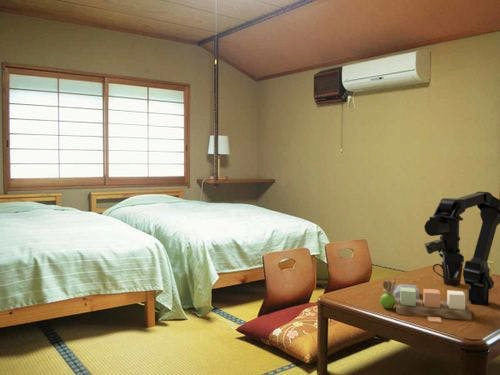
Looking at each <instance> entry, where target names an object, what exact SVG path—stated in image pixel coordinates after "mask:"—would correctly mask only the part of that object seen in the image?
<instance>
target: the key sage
mask: <svg viewBox="0 0 500 375" xmlns="http://www.w3.org/2000/svg"><path fill="white" fill-rule="evenodd" d="M400 303H401V305H410V306H416V291H415V288H404V287H400Z"/></svg>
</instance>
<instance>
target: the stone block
mask: <svg viewBox="0 0 500 375" xmlns="http://www.w3.org/2000/svg"><path fill="white" fill-rule="evenodd" d="M400 287H404V288H415V291H416V299H417V300H420V290H419V288H418V286H417V285H416V284H415V285H413V284H408V283H404V284H402V283H401V284H395V289H394V292H393V293H392V295H393V296H394V297H395V298H400Z"/></svg>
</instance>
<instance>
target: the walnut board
mask: <svg viewBox="0 0 500 375" xmlns="http://www.w3.org/2000/svg"><path fill="white" fill-rule="evenodd" d="M395 300H396V303H395V305H394V307H395V311H396V312H395V313H396V314H397V315H406V316H407V315H408V316H417V317H419V316H420V317H438V318H441V319H455V320H456V319H457V320H469V321H472V319H473V318H472V317H473V315H472V313H473V312H472V311H471V309H470V308H469V307H468V305H467V304H466V302H465V310H462V309H449V307H448V305H447V301H442V300H440V308H436V307H425V306H424V303H423V299H419V300H417V299H416V306H410V305H401V303H400V298H395Z"/></svg>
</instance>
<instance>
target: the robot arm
mask: <svg viewBox="0 0 500 375" xmlns="http://www.w3.org/2000/svg"><path fill="white" fill-rule="evenodd" d="M475 206H476V207H477V208H478V209H479V210H480V212H479V216H480V219H481V227H480V231H479V235H478V238H477V242H476V244H475V249H474V252H473V255H472V258H471V259H470V260H465V256H464V255H463V254H462V253H461V249H460V242H461V237H460V222H461V221H464V218H463V217H462V216H461V215H462V214H463V213H465V212H466V210H467V209H469V208H470V209H471V208H473V207H475ZM499 225H500V199H499V198H497V197H495V196H494V195H493V194H492V193H491V192H489V191H476V192H475V193H471V194H467V195H464V196H461V197H457V198H456V197H444V198H442V199H440V201H439V202H438V205H437V207H436V208H435V211H434V213H433V214H432V215H430V216H429V219H428V220H426V222H425V224H424V231H425V233H426V234H427V235H428V236H429V237H436V236H439V239H436V240H432V241H429V242H428V241H427V242H425V243H424V247H425V250H426V253H427V254H428V255H431V254H433V253H435V252H437V253H438V255H439V257H440V258H442V260H443V261H444V264H445V269H446V274H449V279H453V278H454V276H455V274H456V272H457V270H458V269H459V267H460V265H461V263H463V264H464V266H463V268H462V276H463V281H464V284H465V285H468V288H467V291H466V297H467V300H468V302H469V303H470V304H472V305H473V304H474V305H487V306H489V305H490V304H491V303H490V302H489V299H490V298H489V297H490V292H489V291H490V290H492V289H493V288H494V285H495V282H494V280H493V278H492V277H491V276H490V273H491V272H490V270H491V269H490V267H489V264H488V261H489V256H490V253H491V249H492V245H493V242H494V239H495V235H496V231H497V227H498V226H499ZM464 261H465V262H464Z"/></svg>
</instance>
